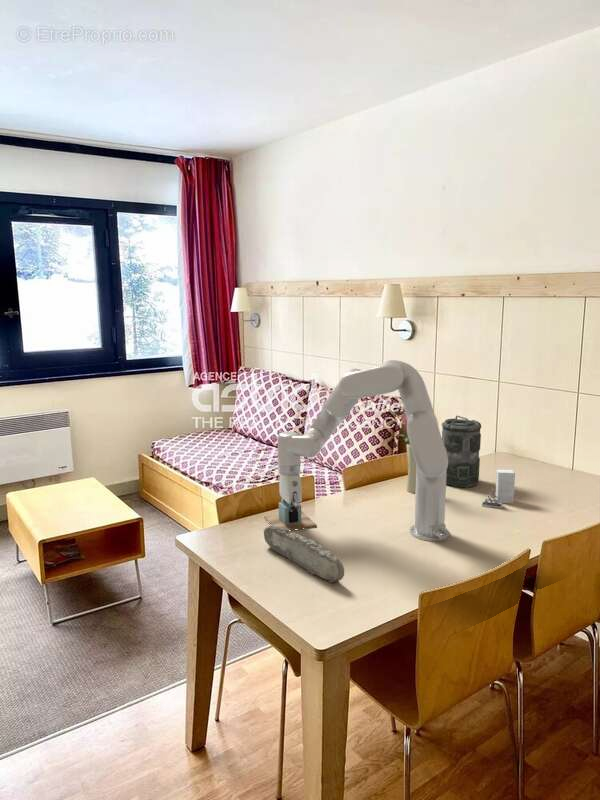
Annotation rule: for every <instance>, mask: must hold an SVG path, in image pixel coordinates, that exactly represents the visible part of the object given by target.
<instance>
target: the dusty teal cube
mask: <svg viewBox="0 0 600 800" xmlns="http://www.w3.org/2000/svg"><path fill="white" fill-rule="evenodd" d="M291 502H294V500H293V501H291ZM291 505H292V507H293V506H294V504H291ZM289 511H290V509H289V503H287V502H286V501H285V502H281V501H280V502H278V514H279V520H280V521H281V522H282V523H283V524H284V525H289V524H295V523H301V511H302V505H301V504H300V506H299V508H298V522H294V523H289Z"/></svg>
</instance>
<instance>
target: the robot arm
mask: <svg viewBox="0 0 600 800" xmlns="http://www.w3.org/2000/svg"><path fill="white" fill-rule="evenodd" d="M395 391H398V392H399V396H400V399H401V404H402V405H403V406H404V408H403V410H404V409H405V410H404V412H405V413H404V414H405V415H406V417H407V424H406V432H407V438H409V439H408V441H409V444H410V445H411V448H412V452H413V455H414V458H415V462H416V493H415V499H414V500H415V501H414V503H415V505H414V524H413V525H412V526H410V528H409V534H410V535H411V536H412V537H414V538H415V539H418V540H421V541H426V542H440V541H444V540H447V539H448V538H449V537H450V532H449V529H448V528H447V527H446V524H445V521H446V520H445V519H446V516H445V515H446V495H447V494H446V492H447V485H446V470H447V467H448V455H447V450H446V448H445V446H444V445H443V441H442V433H441V431H440V427H439V421H438V418H437V417H436V414H435V411H434V409H433V405H432V402H431V399H430V395H429V392H428V389H427V387H426V384H425V381H424V379H423V377H422V376H421V374H420V373H419V371H418V370H417V368H415V367H413V365H411V364H409V363H407V362H405V361H402V360H396V359H391V360H386V361H384V362H383V363H382V364H381V365H380V366H377V367H372V368H368V369H363V370H362V369H360V368H350V369H349V370H347V371H345V373H344V374H343V376H342V377H341V378H340V379H339V382H338V383H337V384H336V386H335V387H334V389H333V390H332V392H331V393H330V395H328V397H327V399H326V400H325V401H324V403H323V404H322V407H321V410H320V412H319V413H318V415H317V417H316V418H315V420H314V421H313V423H312V424H311V425H310V427H309V428H308V429H307V431H306V432H305V433H304V434H303V435H300V434H299V433H298V432H296V431H283V432H280V433H278V435H277V470H278V471H277V473H278V474H279V482H278V485H279V487H278V488H279V489H278V490H279V495H280V498H281V500H280V502H285V501H286V502H287V503H289V509H290V511H289V523H294V522H298V508H299V506H300V505H301V504H300V503H302V501H303V498H302V497H303V496H302V495H303V494H302V483H301V482H302V481H301V476H300V474H301V457H302V458H303V457H304V458H315V457H317V456H318V455H319V453H320V452H321V451H322V449H323V447H324V445H326V443H327V441H328V440H329V439H330V438H331V435H332V434H333V433H334V431H335V430H336V429H337V427H338V426H339V425H340V424H341V423H342V422H344V420H346V418H347V417H348V415H349V414H350V413H351V411H352V410H353V408H354V407H355V406H356V404H357V403H358V402H359V400H360V399H366V398H370V397H376V396H381V395H386V394H389V393H393V392H395ZM403 406H402V407H403ZM293 500H294V502H291V501H293ZM291 504H294V506H293V507H292V505H291Z"/></svg>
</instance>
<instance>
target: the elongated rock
mask: <svg viewBox="0 0 600 800" xmlns="http://www.w3.org/2000/svg"><path fill="white" fill-rule="evenodd" d="M263 538H264V540H265V541H264V542H265V543H266V544H267V545H268V546H269V548H271V550H273V551H275V552H276V553H278V554H280V555H281V556H283V557H284V558H286V557H287V558H286V559H288V560H289V561H290V562H293V563H294V564H296V563H297V566H299V567H300V568H302V569H304V570H306V571H307V572H308V573H310V574H311V576H317V577H319V578H320V579H323V580H325V581H327V582H329V583H331V584H332V583H335V582H339V581H341V580H343V579H344V576H345V567H344V564H343V563H342V561H341V560H340V559H339V558H338V557H337V556H336V555H335V554H334V553H332V551H331V550H329V549H327V548H326V547H325V546H323V544H322V545H321V544H320V543H318V541H317V540H314V539H312V538H308V537H304V536H303V535H301V534H297V533H295V532H293V531H289V530H287V529H283V528H280V527H279V526H271V525H269V526H266V527H265V528H264V530H263Z"/></svg>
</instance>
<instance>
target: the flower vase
mask: <svg viewBox="0 0 600 800" xmlns="http://www.w3.org/2000/svg"><path fill="white" fill-rule="evenodd" d="M402 409H403V410H404V411H405V409H404V406H402ZM396 411H397V412H398V413H399V414H401V412H400V411H399V410H398V409H397V410H396ZM398 413H395V412H393V415H397V416H399V417H400V418H402V419H401V421H400V423H401V424H403V425H407V417H406V414H405V416H404V417H402V416H401V415H399V414H398ZM396 436H398V437H399V436H400V437H402V438H404V441H405V442H408V441H409V438H408V437H406V436H405V434H397V435H396ZM405 445H406V455H407V463H408V471H407V478H406V480H407V481H406V488H405V489H406V490H405V491H406V492H407V493H410V494H416V462H415V458H414V455H413V452H412V448H411V445H410V443H408V444H405Z"/></svg>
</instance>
